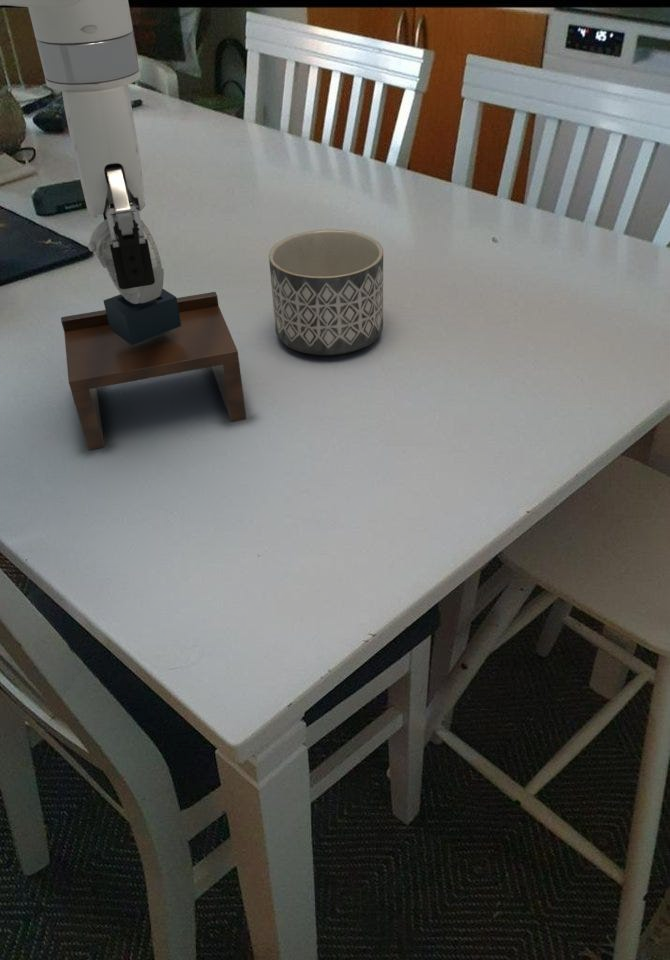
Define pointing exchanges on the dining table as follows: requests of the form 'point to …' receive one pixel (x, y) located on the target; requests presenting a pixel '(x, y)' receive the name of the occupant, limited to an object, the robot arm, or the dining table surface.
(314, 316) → the planter
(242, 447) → the dining table surface
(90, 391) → the shelf
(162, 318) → the watch
